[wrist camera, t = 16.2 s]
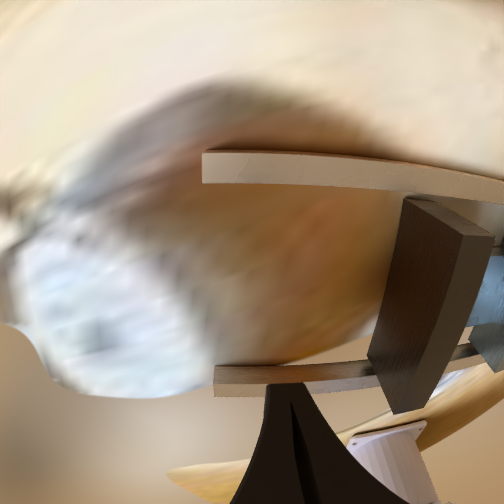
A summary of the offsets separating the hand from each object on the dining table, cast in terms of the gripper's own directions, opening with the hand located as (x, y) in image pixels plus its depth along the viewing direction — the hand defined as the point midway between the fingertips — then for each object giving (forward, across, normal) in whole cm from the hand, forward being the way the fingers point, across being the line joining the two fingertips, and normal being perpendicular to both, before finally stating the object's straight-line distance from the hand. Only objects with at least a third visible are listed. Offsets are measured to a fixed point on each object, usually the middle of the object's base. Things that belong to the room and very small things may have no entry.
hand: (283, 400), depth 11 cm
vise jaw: (+6, -12, -1) cm, 14 cm away
